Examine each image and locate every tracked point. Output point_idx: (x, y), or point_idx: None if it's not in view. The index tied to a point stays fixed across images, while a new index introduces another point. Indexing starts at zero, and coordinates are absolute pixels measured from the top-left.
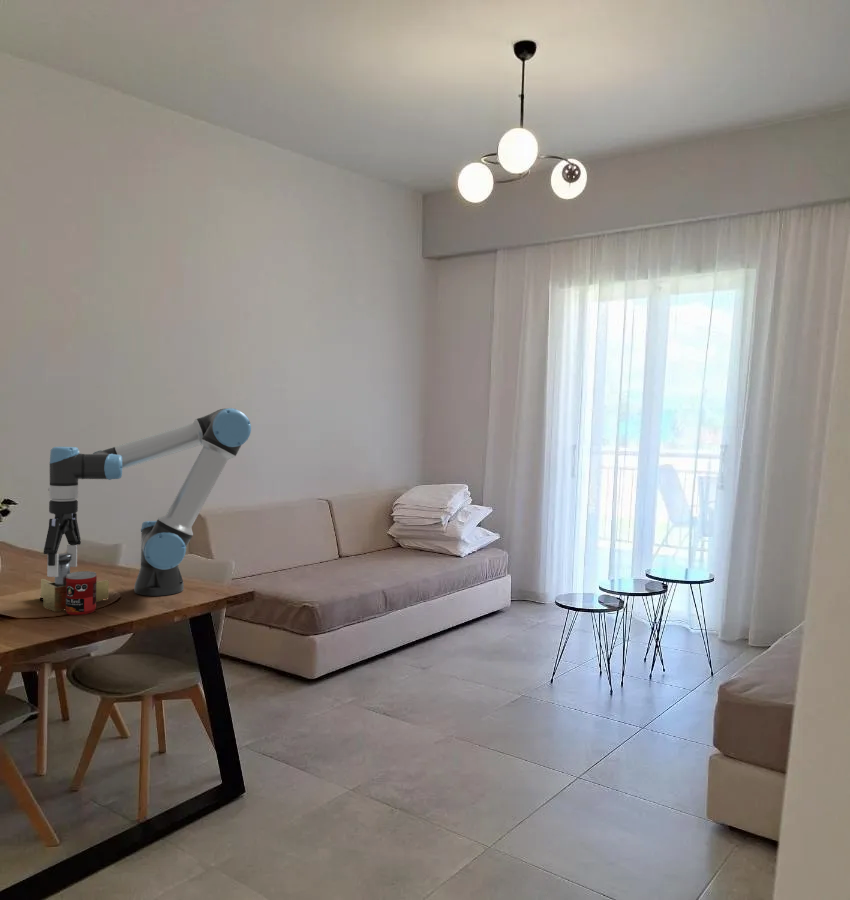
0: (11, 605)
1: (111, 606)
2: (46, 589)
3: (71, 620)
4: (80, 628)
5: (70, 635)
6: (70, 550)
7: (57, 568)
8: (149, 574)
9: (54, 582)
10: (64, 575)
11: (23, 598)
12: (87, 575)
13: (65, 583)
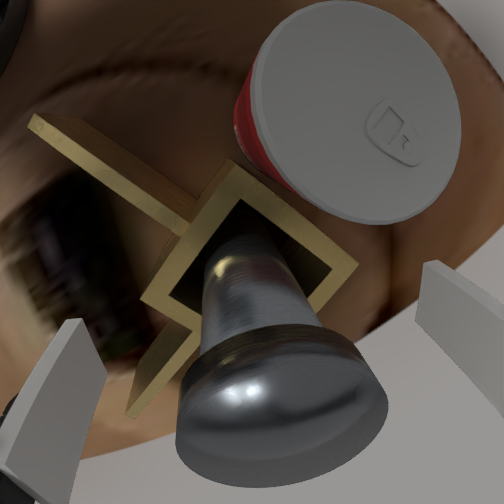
0: None
1: (185, 43)
2: None
3: None
4: (459, 65)
5: (497, 79)
6: (57, 457)
7: (472, 285)
8: None
9: None
10: (296, 281)
11: (164, 403)
12: (367, 60)
13: (275, 254)
